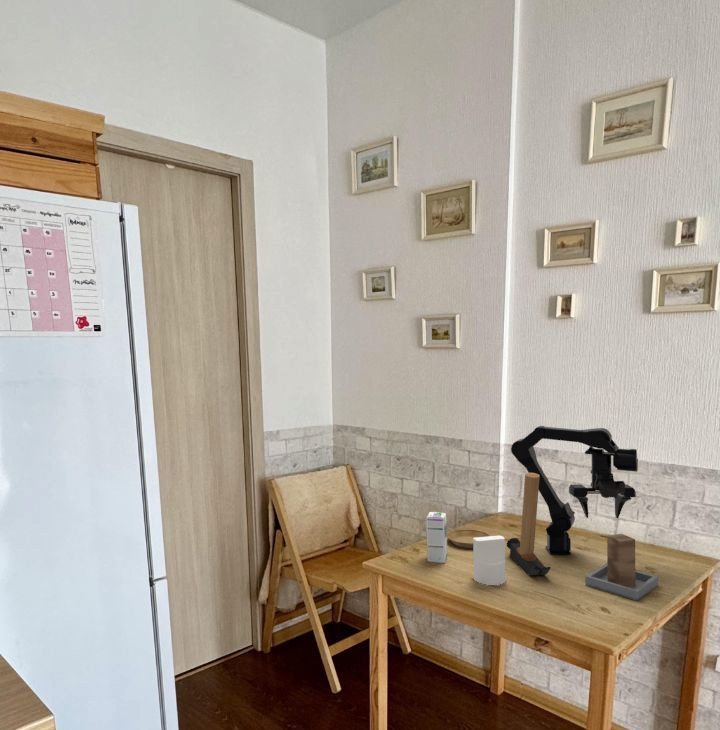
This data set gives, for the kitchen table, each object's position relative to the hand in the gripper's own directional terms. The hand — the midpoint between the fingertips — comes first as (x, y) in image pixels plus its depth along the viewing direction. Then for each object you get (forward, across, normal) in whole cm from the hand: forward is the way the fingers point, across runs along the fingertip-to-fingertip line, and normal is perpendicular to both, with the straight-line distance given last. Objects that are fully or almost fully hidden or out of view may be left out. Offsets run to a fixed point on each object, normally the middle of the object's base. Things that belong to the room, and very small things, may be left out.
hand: (601, 517), depth 172 cm
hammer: (+13, -25, -7) cm, 29 cm away
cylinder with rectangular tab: (+13, -38, -17) cm, 44 cm away
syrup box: (+13, -52, -2) cm, 54 cm away
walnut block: (+12, -2, -20) cm, 24 cm away
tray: (+13, -2, -20) cm, 24 cm away
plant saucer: (+14, -40, +14) cm, 45 cm away
